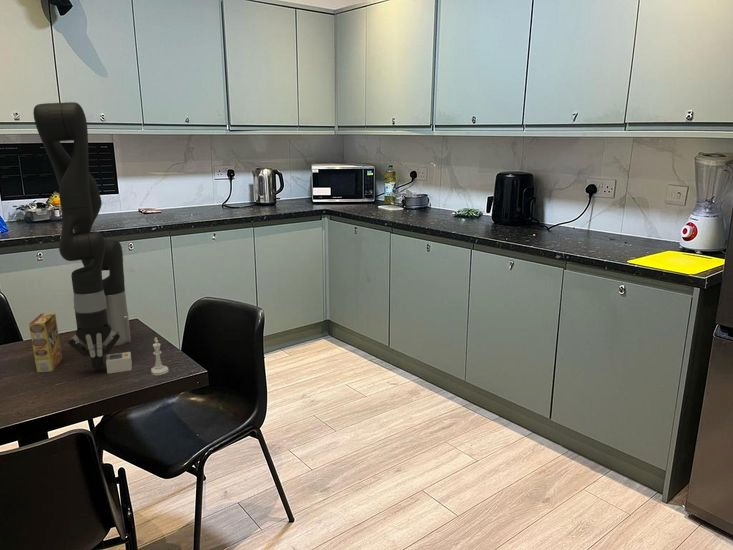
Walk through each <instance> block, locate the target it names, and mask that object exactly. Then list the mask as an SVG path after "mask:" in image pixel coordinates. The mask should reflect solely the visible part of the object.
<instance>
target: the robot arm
mask: <svg viewBox="0 0 733 550" xmlns="http://www.w3.org/2000/svg"><path fill="white" fill-rule="evenodd" d="M33 119H34V123H35V127H36V130H37V132H38V135H39V138H40V140H41V142H42V144H43V147H44V149H45V151H46V154H47V156H48V158H49V160H50V161H49V162H50V163H51V166H52V169H53V171H54V175H55V179H56V181H57V184H58V186H59V187H58V188H59V189H58V196H59V203H60V209H61V218H62V225H61V234H60V239H59V246H58V250H59V251H58V252H59V254H60V256H61V257H62V258H63V259H64V260H65V261H68V262H74V261H75V262H77V261H81V262H82V265H83V266H82V267H80V268H76V269H74V270H73V271H72V272H71V277H70V278H71V283H72V291H73V309H74V315H75V323H76V330H75V334H74V335H73V336H72V337H69V339H68V343H67V344H68V345H69V346H70V347H72V348H73V349H75V351H77V352H78V353H79V354H80V355H82V357H90V359H91V360H90V361H91V366H92V368H93V369H95V371H98V370H102V368H104V366H105V359H104V355H107V354H109V353H110V351H111V350H112V349H113V347H116V346H120V345H125V344H126V345H127V344H131V343H132V337H131V329H130V320H129V312H128V306H127V297H126V287H125V271H124V254H123V253H124V252H123V247H122V244H121V243H120V241H119V240H117V239H105V237H104V236H103V234H102V233H100V232H99V231H94V230H93V231H92V228H93V225H94V223H95V221H96V219H97V217H98V215H99V213H100V211H101V209H102V198H101V194H100V191H99V186H98V183H97V181H96V179H95V178H94V177H93V175H92V174H91V173H90V172H89V170H90V169H89V164H90V163H89V134H88V133H89V132H88V123H87V118H86V114H85V111H84V109H83V107H82V106H81V104H80V103H78V102H75V101H73V102H68V101H67V102H51V103H50V102H49V103H48V102H46V103H38V104H36V105H35V106H34V107H33ZM67 141H73V152H72V156H70V155H69V153H68V152H67V151H66V149H65V147H64V146H63V145H62V143H61V142H67ZM102 271H109V274H108V276H107V277H105V278H103V275H102V273H103V272H102ZM80 341H82V342H83V343H84V344H85V345H87V347H86V346H84V345H83V344H82V343H80ZM95 345H96V346H95ZM87 348H88V349H87Z"/></svg>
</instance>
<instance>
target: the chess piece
mask: <svg viewBox="0 0 733 550" xmlns="http://www.w3.org/2000/svg"><path fill="white" fill-rule="evenodd" d="M153 341H154V342H155V343H153V344H152V347H153V349H154V351H153V353H152V354H153V355H155V365H154V366H153V367H151V368H150V371H151V372H150V373H151V376H161V375H162V374H163V375H165V374H167V373H169V371H170V370H169V367H168V366H166V365H164V364H162V360H161V354H162V351H161V350H160V349H161V344H162V343H159V339H158V337H156V336H155V337H154V339H153ZM163 375H162V376H163Z"/></svg>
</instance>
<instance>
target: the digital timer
mask: <svg viewBox="0 0 733 550" xmlns="http://www.w3.org/2000/svg"><path fill="white" fill-rule="evenodd" d="M105 363H106V364H105V365H106V374H109V375H110V374H114V373H115V374H116V373H122V372H129V371H132V369H133V363H132V353H131V351H126V352H125V351H124V352H119V353H118V352H117V353H111V354H106V359H105Z"/></svg>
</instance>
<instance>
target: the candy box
mask: <svg viewBox="0 0 733 550" xmlns="http://www.w3.org/2000/svg"><path fill="white" fill-rule="evenodd" d="M28 326H29V332H30V338H31V345H32V350H33V355H34V361H35V368H36V372H37V373H45V372H53V371H54V370H55V369H56V368H57V366H59V364H60V363H61V362H62V360H63V354H62V346H61V341H60V335H59V330H58V323H57V317H56V313H55V312H50V313H49V312H48V313H40V314H39V315H38V316H36V317H35V318H34V319H33V320H32V321H31V322H29V323H28Z"/></svg>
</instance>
